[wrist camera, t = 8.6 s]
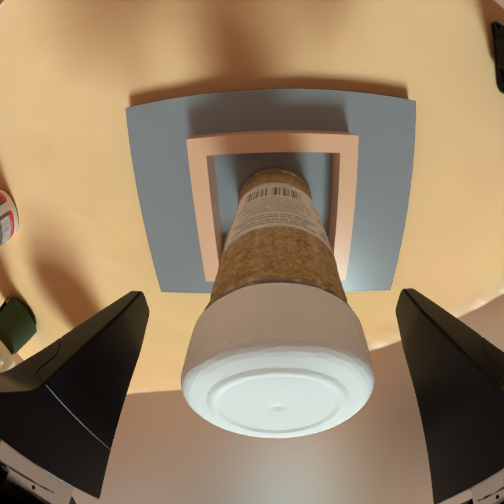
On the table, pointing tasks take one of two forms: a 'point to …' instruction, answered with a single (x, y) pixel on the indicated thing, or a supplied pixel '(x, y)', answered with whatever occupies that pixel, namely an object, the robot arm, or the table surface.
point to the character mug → (13, 331)
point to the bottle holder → (275, 156)
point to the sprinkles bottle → (277, 323)
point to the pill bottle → (7, 217)
